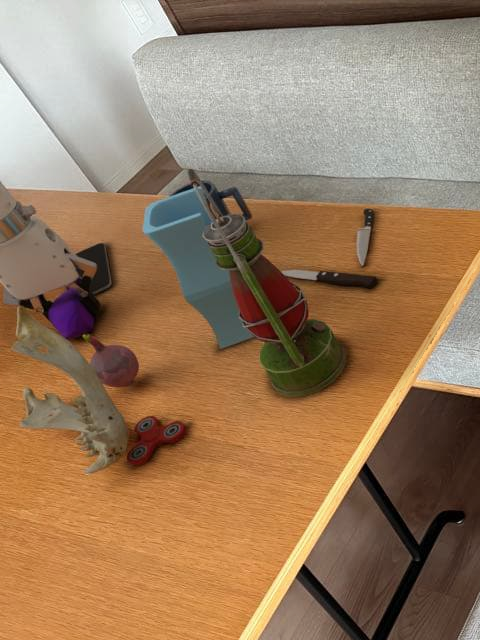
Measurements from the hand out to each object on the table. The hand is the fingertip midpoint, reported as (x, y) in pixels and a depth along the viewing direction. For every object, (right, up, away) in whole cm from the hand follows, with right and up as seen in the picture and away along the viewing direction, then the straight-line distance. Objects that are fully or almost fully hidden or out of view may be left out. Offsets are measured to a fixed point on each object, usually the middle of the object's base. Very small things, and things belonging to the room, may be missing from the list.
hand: (80, 317), depth 127 cm
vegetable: (+15, -11, -13) cm, 23 cm away
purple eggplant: (0, 0, +1) cm, 1 cm away
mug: (+20, +15, +8) cm, 26 cm away
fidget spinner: (+23, -17, -24) cm, 37 cm away
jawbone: (+16, -13, -20) cm, 29 cm away
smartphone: (-4, +9, +10) cm, 14 cm away
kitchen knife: (+40, +5, -7) cm, 41 cm away
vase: (+30, -2, -9) cm, 31 cm away
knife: (+44, +13, -2) cm, 46 cm away
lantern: (+42, -9, -19) cm, 47 cm away
